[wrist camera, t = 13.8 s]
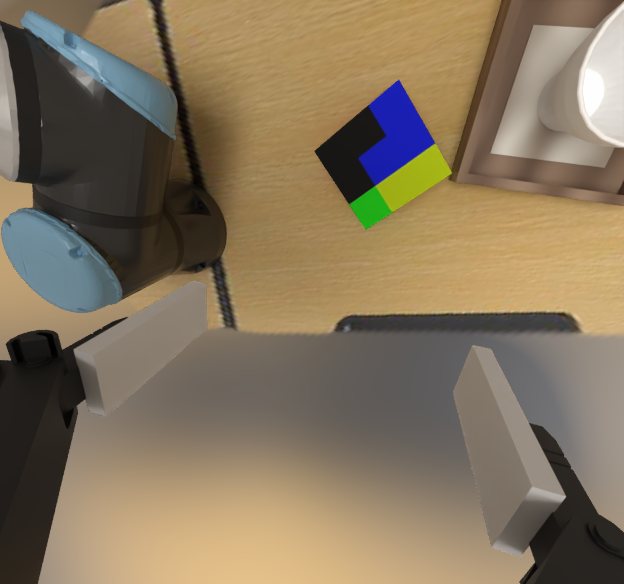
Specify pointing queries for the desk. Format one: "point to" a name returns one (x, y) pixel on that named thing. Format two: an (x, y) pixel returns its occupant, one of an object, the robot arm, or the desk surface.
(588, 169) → the walled box
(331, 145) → the puzzle toy
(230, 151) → the desk surface
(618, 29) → the cup
